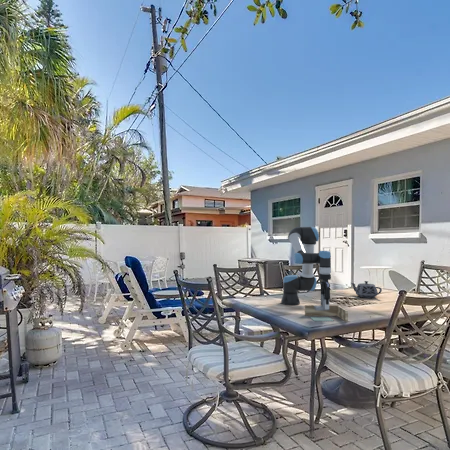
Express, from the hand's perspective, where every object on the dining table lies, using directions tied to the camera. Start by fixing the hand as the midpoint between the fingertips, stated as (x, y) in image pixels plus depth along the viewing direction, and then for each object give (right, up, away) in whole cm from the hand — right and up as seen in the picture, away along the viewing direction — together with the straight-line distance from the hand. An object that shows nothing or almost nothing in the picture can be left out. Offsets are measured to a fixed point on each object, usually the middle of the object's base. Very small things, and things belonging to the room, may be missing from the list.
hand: (325, 308), depth 221 cm
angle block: (-3, -1, 0) cm, 3 cm away
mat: (-3, -7, 0) cm, 8 cm away
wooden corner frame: (+1, -8, +4) cm, 9 cm away
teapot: (+64, -12, +87) cm, 109 cm away
